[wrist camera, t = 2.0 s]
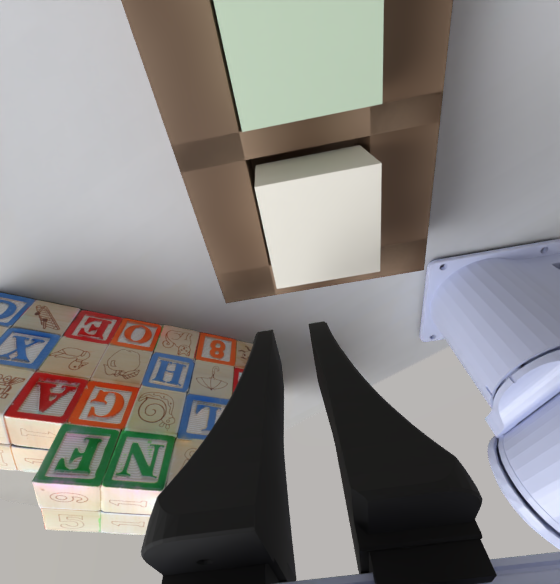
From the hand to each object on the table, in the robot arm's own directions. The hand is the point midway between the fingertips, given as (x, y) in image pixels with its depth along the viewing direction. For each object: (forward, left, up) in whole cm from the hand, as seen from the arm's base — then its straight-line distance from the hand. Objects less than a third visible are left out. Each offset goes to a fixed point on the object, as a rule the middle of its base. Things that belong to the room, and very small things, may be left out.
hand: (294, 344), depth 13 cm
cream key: (-2, -3, -7) cm, 8 cm away
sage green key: (-2, -10, -7) cm, 12 cm away
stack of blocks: (+13, +8, -11) cm, 19 cm away
